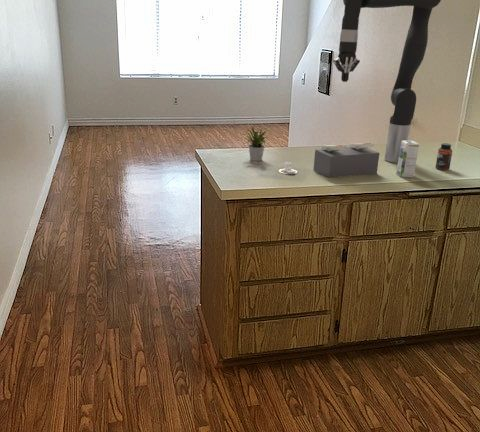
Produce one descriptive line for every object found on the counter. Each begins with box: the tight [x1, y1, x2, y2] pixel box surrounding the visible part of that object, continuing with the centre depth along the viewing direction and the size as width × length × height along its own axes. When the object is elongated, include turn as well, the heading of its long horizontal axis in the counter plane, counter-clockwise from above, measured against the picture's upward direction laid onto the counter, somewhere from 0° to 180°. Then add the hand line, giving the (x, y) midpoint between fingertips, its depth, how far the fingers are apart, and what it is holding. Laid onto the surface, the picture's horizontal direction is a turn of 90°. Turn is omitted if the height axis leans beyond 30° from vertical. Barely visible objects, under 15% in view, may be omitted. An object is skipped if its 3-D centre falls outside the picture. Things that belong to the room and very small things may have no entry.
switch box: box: [313, 146, 380, 179], centre depth 223 cm, size 24×12×9 cm, turn 113°
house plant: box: [242, 123, 272, 162], centre depth 235 cm, size 14×14×16 cm
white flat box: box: [349, 143, 375, 149], centre depth 223 cm, size 5×10×2 cm, turn 23°
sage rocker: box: [321, 144, 346, 151], centre depth 218 cm, size 5×10×2 cm, turn 23°
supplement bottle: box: [435, 142, 453, 171], centre depth 233 cm, size 6×6×11 cm
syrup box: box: [396, 139, 420, 178], centre depth 220 cm, size 6×6×14 cm
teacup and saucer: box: [278, 161, 298, 175], centre depth 220 cm, size 9×8×4 cm
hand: (344, 81), depth 234 cm, fingers closed
